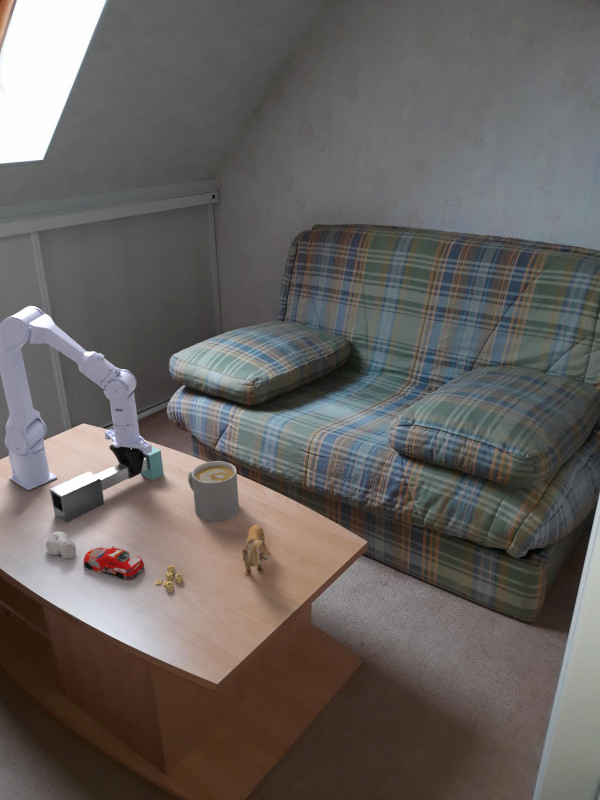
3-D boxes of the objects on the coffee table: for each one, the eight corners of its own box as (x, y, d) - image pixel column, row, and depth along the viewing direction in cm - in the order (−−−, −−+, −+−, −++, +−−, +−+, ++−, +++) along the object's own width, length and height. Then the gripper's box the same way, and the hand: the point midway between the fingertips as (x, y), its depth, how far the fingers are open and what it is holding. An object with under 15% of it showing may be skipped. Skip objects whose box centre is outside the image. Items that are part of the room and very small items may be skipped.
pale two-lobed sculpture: (46, 552, 140) (67, 537, 142) (61, 570, 134) (82, 553, 136) (36, 538, 137) (58, 523, 140) (51, 555, 132) (73, 539, 134)
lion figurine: (272, 584, 127) (271, 546, 124) (245, 587, 127) (243, 549, 123) (265, 540, 141) (263, 504, 137) (240, 542, 140) (237, 506, 136)
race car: (78, 568, 133) (75, 552, 132) (96, 553, 138) (93, 537, 136) (131, 584, 128) (128, 568, 127) (148, 568, 133) (146, 552, 131)
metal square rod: (76, 495, 153) (74, 483, 151) (147, 462, 167) (146, 450, 166) (84, 500, 151) (82, 488, 149) (156, 466, 165) (154, 454, 164)
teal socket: (140, 474, 167) (137, 449, 164) (151, 468, 170) (148, 444, 167) (152, 480, 164) (149, 455, 161) (163, 474, 167) (160, 450, 164)
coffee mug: (247, 510, 151) (245, 472, 147) (210, 527, 145) (207, 488, 141) (215, 487, 161) (212, 451, 157) (179, 502, 155) (175, 465, 151)
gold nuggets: (172, 571, 132) (171, 564, 131) (189, 582, 129) (188, 574, 128) (152, 584, 129) (151, 576, 128) (169, 595, 126) (168, 587, 125)
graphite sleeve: (54, 515, 150) (49, 488, 148) (92, 497, 157) (88, 471, 155) (66, 522, 148) (61, 496, 145) (104, 504, 154) (100, 478, 152)
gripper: (91, 420, 157) (99, 469, 163) (132, 435, 149) (139, 487, 155) (115, 410, 162) (122, 458, 168) (156, 424, 154) (161, 474, 160)
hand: (131, 471), depth 162 cm, fingers closed on metal square rod, 3 cm apart
